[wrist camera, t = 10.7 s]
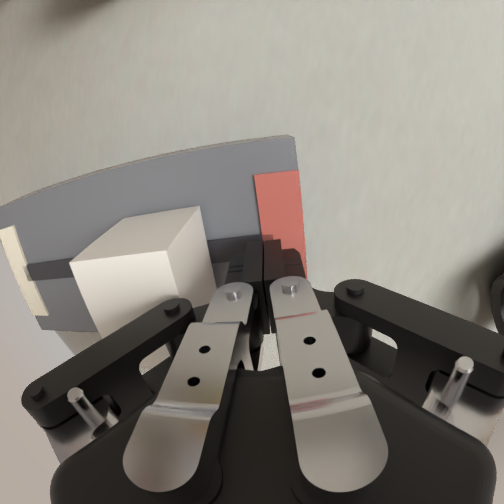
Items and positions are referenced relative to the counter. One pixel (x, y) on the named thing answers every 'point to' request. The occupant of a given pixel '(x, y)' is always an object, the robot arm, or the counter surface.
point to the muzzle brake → (498, 302)
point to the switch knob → (145, 269)
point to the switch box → (151, 201)
